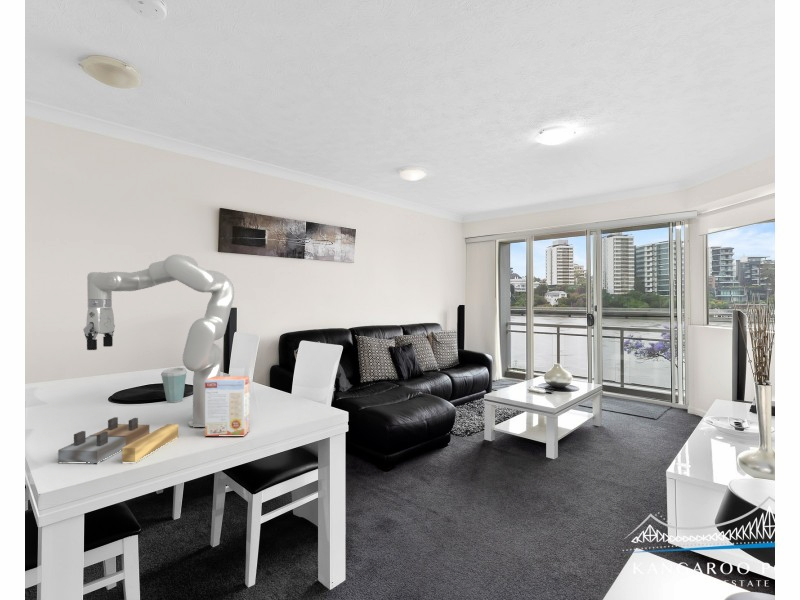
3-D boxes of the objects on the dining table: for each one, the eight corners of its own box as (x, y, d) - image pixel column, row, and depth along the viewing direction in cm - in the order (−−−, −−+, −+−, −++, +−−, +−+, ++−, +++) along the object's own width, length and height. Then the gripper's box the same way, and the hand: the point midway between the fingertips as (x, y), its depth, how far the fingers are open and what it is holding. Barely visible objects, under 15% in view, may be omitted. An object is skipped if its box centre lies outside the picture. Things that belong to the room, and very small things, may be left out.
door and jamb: (149, 435, 145) (149, 414, 145) (97, 464, 121) (97, 439, 121) (116, 434, 145) (116, 414, 145) (58, 463, 121) (58, 438, 121)
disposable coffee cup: (178, 404, 185) (178, 371, 185) (155, 403, 185) (155, 371, 185) (191, 398, 196) (191, 367, 195) (169, 397, 196) (169, 367, 195)
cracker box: (249, 431, 150) (250, 375, 150) (244, 437, 144) (244, 379, 144) (211, 431, 150) (211, 375, 149) (204, 437, 144) (204, 379, 143)
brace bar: (178, 438, 143) (178, 424, 143) (135, 464, 121) (135, 448, 121) (167, 438, 144) (167, 424, 144) (122, 464, 122) (122, 447, 122)
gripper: (95, 304, 149) (96, 351, 149) (123, 303, 166) (123, 345, 166) (73, 304, 148) (74, 351, 148) (103, 303, 165) (103, 345, 165)
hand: (100, 348), depth 157 cm, fingers open, 9 cm apart
